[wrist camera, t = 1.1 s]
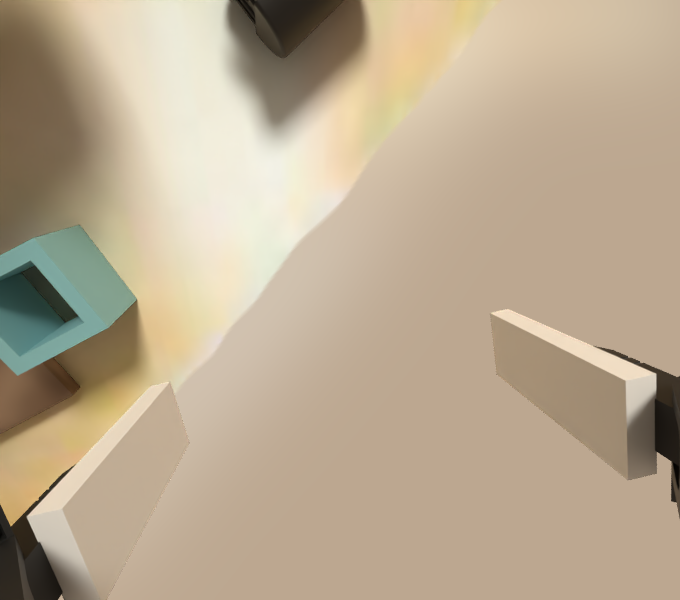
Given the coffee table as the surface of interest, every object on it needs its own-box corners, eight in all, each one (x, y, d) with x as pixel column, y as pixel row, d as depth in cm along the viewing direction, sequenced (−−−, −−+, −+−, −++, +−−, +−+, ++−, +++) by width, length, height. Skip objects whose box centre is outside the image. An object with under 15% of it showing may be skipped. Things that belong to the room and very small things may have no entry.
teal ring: (-2, 267, 33) (-68, 290, 26) (79, 224, 33) (33, 237, 26) (62, 338, 36) (17, 375, 29) (137, 299, 36) (108, 327, 29)
